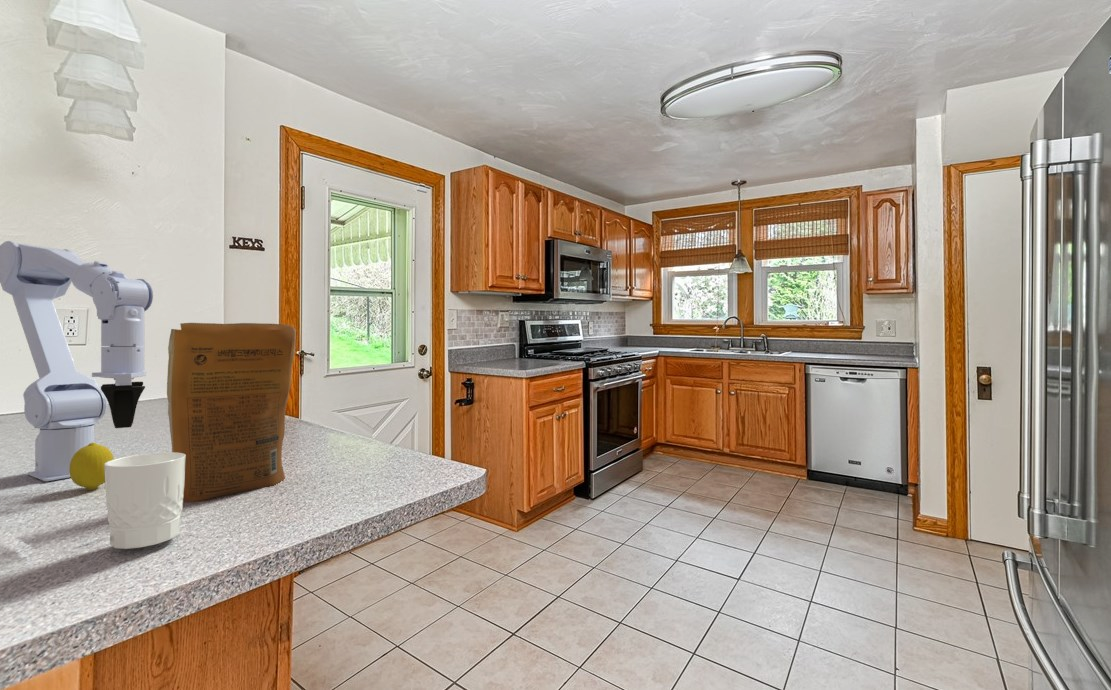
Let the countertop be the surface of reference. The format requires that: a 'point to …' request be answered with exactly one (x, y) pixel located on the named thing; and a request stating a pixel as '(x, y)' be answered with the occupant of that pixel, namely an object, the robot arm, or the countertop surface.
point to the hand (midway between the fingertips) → (123, 424)
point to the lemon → (89, 466)
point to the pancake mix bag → (229, 404)
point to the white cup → (144, 498)
